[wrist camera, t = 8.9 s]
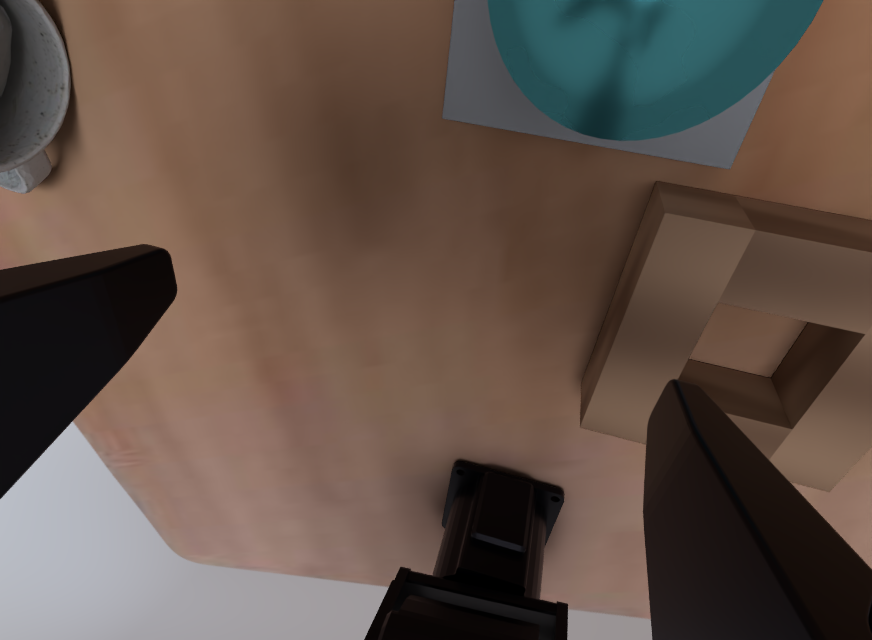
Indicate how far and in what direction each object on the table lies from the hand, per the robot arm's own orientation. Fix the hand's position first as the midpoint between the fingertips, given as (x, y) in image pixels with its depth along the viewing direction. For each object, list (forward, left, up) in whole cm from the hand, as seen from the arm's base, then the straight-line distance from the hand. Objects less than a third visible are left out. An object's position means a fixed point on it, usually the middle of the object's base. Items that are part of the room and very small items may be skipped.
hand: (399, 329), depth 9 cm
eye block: (-6, -11, -13) cm, 17 cm away
